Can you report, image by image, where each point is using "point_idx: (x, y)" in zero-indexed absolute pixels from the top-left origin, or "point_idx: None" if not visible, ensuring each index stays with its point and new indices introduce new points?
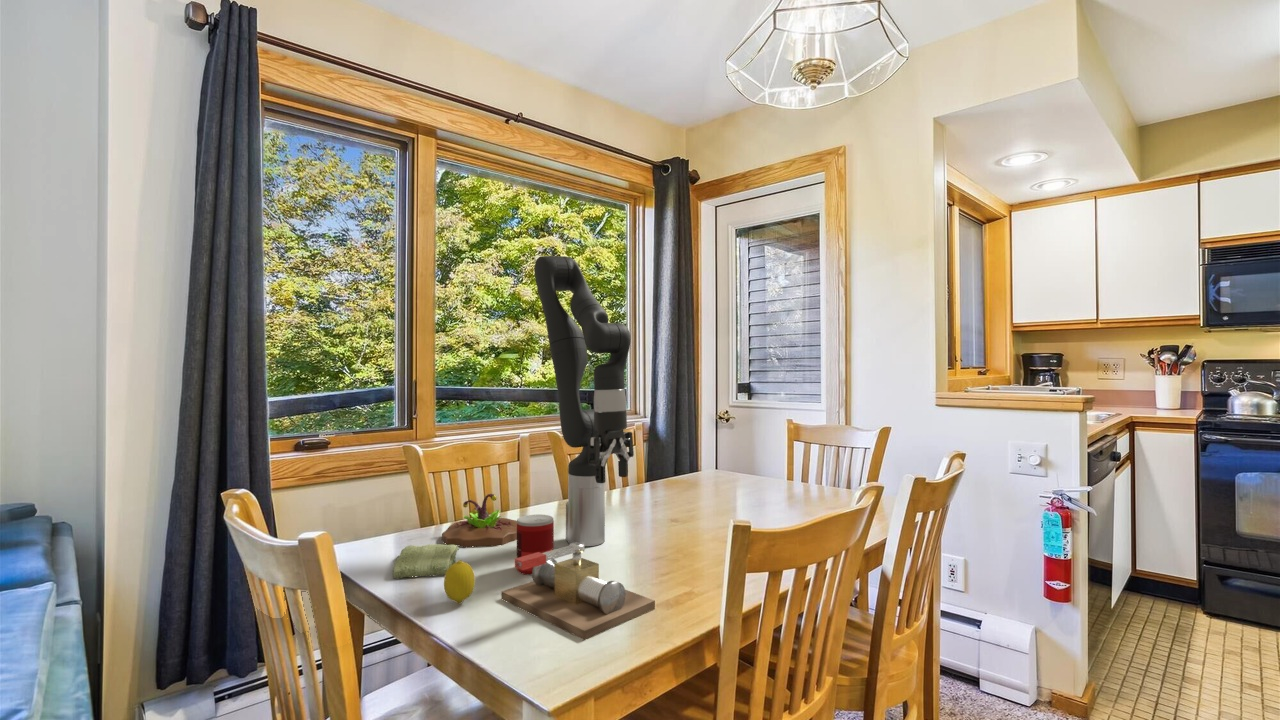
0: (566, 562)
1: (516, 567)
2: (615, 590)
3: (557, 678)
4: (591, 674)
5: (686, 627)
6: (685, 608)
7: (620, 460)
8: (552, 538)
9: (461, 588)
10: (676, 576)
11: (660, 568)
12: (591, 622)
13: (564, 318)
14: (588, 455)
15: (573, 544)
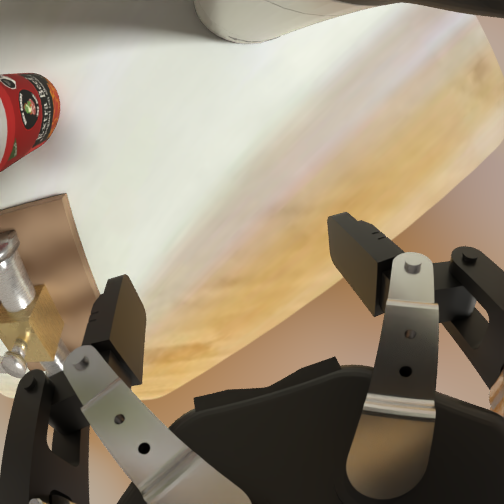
0: (7, 331)
1: None
2: None
3: (7, 384)
4: None
5: (135, 392)
6: (163, 370)
7: (384, 277)
8: (18, 157)
9: None
10: (234, 299)
11: (242, 258)
12: (39, 364)
13: None
14: (13, 426)
15: (7, 366)
